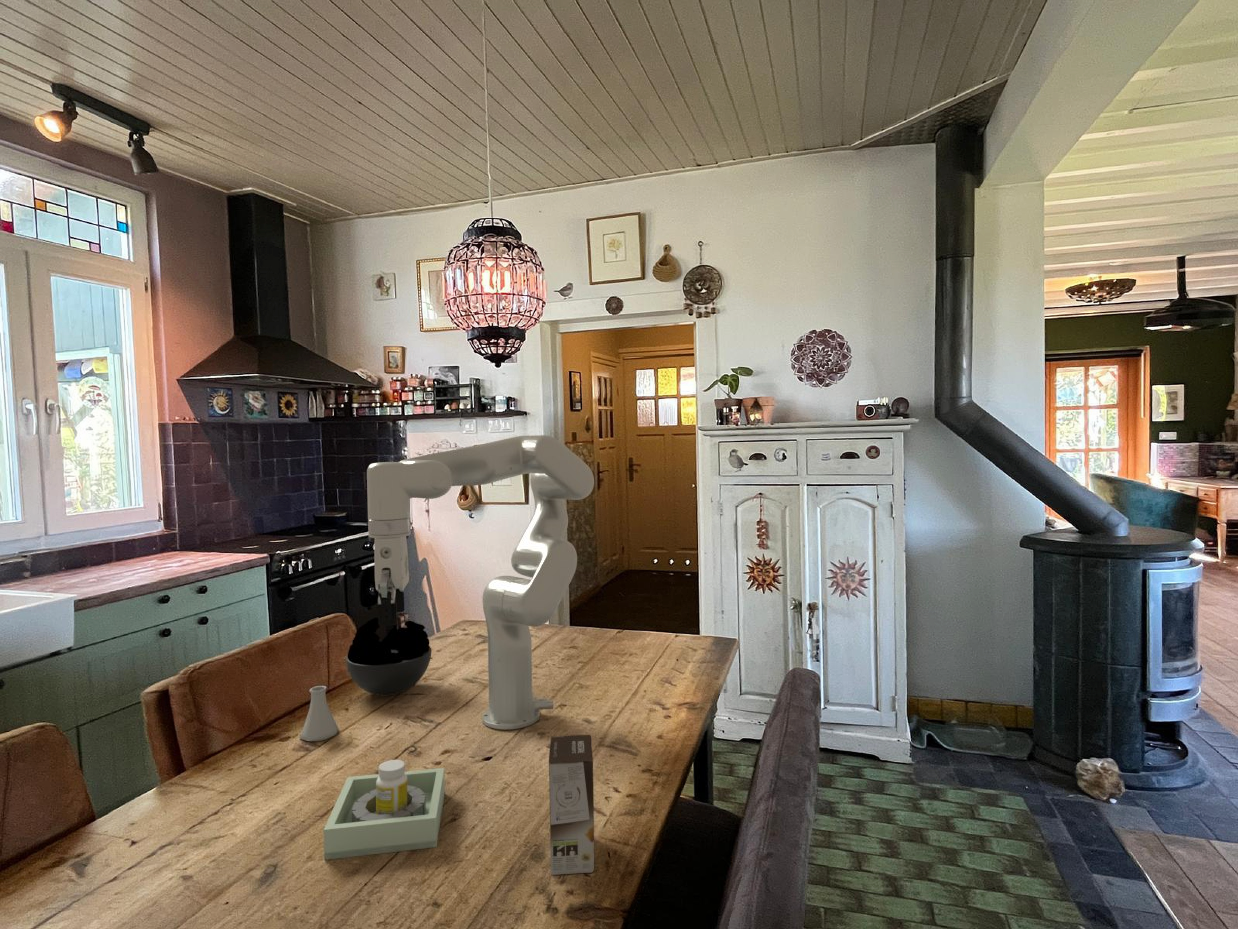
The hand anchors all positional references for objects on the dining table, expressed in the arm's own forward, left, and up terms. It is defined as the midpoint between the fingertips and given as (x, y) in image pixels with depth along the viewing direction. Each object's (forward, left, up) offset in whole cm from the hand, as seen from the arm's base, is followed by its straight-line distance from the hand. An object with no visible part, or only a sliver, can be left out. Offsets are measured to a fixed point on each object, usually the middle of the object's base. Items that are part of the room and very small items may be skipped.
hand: (391, 618), depth 127 cm
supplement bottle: (-2, +20, -27) cm, 34 cm away
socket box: (-2, +20, -28) cm, 35 cm away
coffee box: (-30, +34, -28) cm, 54 cm away
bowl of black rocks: (+7, -40, -28) cm, 50 cm away
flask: (+18, -18, -29) cm, 38 cm away
